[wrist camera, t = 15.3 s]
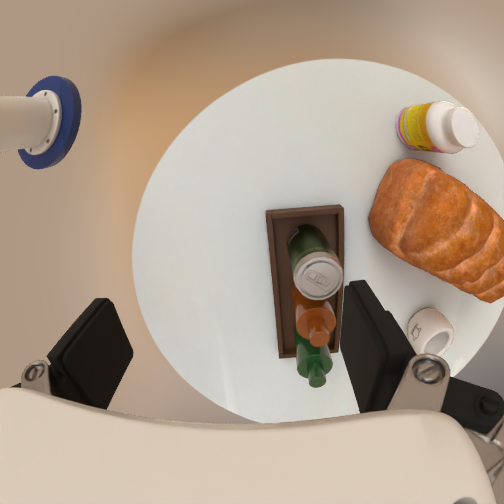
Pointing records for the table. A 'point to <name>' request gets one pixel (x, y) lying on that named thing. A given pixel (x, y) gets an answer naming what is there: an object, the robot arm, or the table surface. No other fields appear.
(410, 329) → the mug
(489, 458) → the robot arm
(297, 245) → the beer can
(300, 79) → the table surface
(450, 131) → the supplement bottle
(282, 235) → the tray
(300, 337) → the green bottle
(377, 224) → the bread
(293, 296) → the amber bottle
